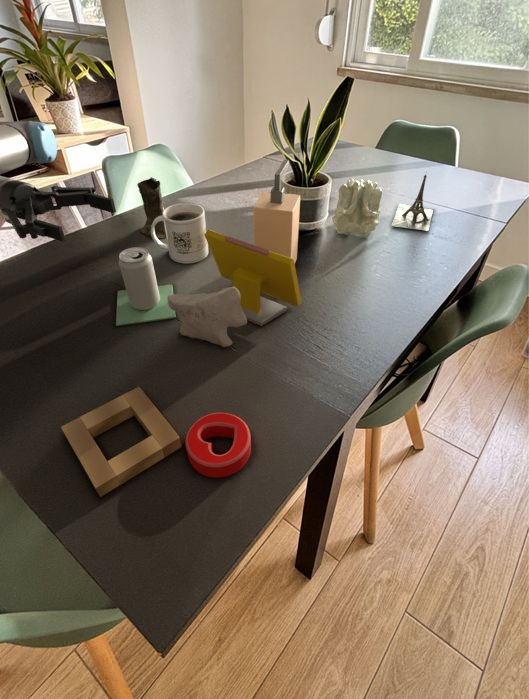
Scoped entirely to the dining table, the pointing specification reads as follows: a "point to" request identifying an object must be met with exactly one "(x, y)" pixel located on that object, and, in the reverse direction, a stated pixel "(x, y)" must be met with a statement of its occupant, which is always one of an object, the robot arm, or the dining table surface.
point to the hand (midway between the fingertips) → (89, 219)
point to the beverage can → (139, 278)
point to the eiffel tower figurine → (413, 213)
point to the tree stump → (152, 206)
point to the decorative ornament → (203, 452)
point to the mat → (132, 315)
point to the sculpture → (209, 314)
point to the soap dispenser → (277, 218)
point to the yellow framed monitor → (256, 276)
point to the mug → (183, 232)
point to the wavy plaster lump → (358, 208)
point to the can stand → (131, 460)
